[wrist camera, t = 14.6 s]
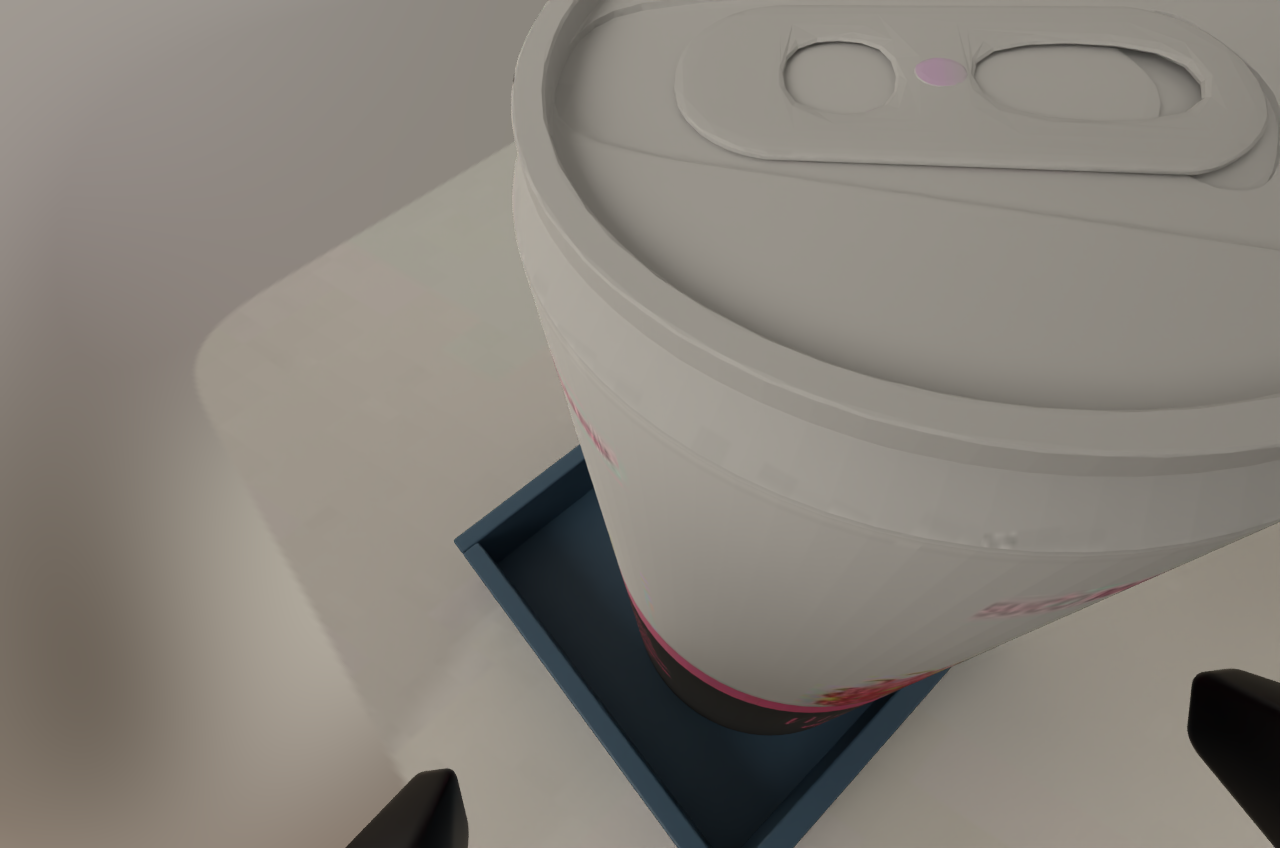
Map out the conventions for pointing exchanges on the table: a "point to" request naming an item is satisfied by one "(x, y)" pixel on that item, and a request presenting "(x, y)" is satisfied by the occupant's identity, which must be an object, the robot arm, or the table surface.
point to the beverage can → (902, 317)
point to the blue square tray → (658, 680)
